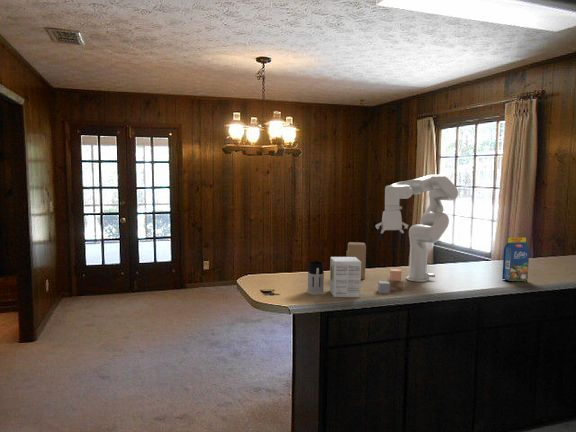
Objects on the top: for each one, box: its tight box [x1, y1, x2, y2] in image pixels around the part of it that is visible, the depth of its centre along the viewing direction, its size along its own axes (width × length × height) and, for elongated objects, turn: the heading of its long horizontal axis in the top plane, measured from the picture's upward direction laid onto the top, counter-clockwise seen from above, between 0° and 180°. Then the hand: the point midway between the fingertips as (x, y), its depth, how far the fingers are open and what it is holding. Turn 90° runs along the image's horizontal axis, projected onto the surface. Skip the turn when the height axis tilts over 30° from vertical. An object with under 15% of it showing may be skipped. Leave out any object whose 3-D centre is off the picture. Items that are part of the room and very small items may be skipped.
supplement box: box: [329, 256, 362, 298], centre depth 221 cm, size 13×13×18 cm
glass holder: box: [306, 260, 325, 296], centre depth 220 cm, size 9×14×15 cm, turn 2°
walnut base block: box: [387, 277, 404, 291], centre depth 234 cm, size 7×7×5 cm
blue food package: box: [501, 237, 530, 282], centre depth 257 cm, size 6×12×25 cm, turn 104°
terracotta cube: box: [389, 268, 402, 281], centre depth 234 cm, size 5×5×5 cm
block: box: [346, 241, 367, 280], centre depth 259 cm, size 10×10×20 cm
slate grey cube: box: [377, 280, 391, 294], centre depth 227 cm, size 5×5×5 cm
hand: (391, 240), depth 240 cm, fingers open, 9 cm apart
